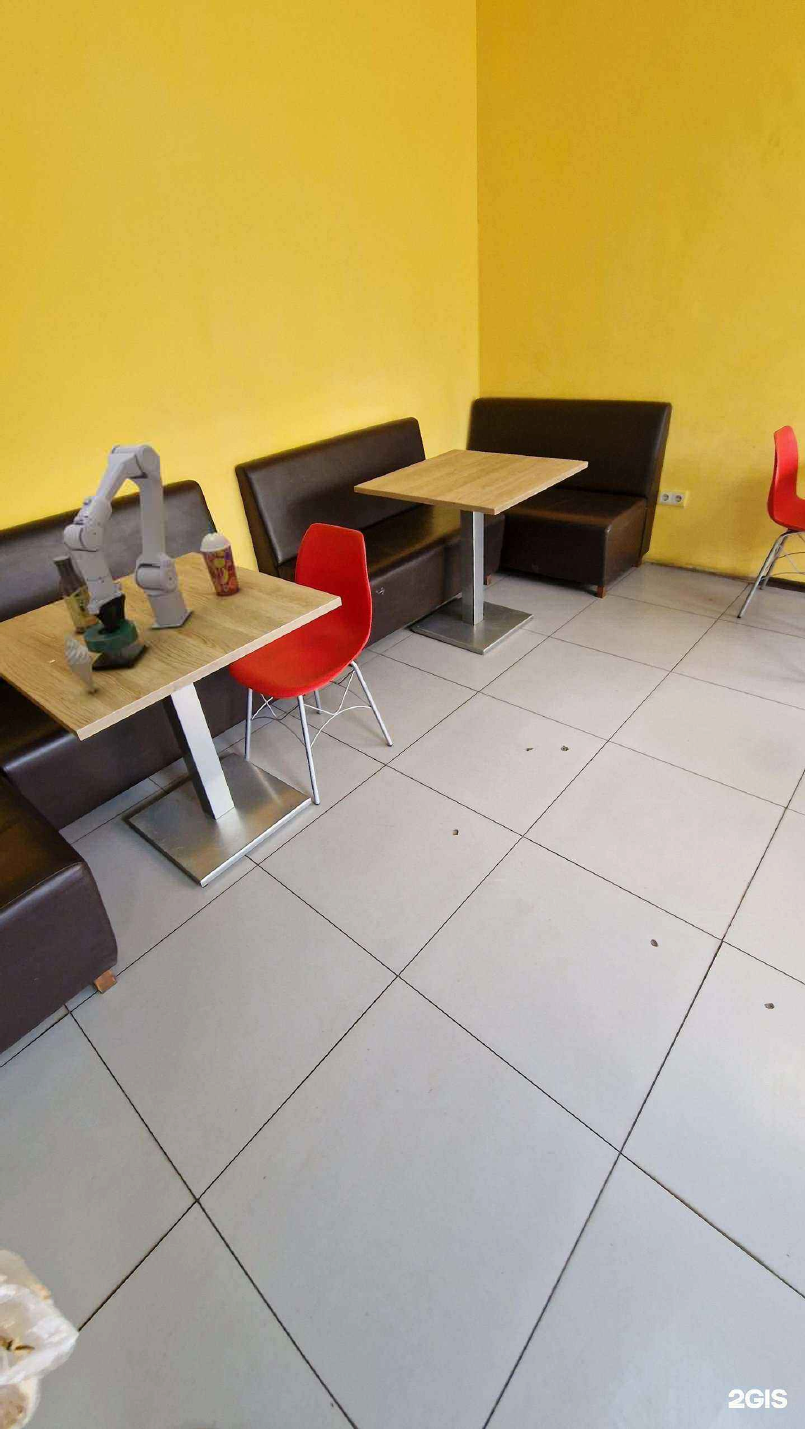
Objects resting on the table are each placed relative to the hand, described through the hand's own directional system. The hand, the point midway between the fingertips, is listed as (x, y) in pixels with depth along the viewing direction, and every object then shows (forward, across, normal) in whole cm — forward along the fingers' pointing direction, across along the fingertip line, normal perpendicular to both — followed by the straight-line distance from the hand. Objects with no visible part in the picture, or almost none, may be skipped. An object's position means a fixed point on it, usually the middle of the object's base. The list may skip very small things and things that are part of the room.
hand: (118, 628), depth 154 cm
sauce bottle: (+6, +16, +17) cm, 24 cm away
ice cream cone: (+6, -19, 0) cm, 20 cm away
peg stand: (+6, -4, 0) cm, 7 cm away
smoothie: (+6, +34, -17) cm, 38 cm away
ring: (+2, -4, 0) cm, 4 cm away
